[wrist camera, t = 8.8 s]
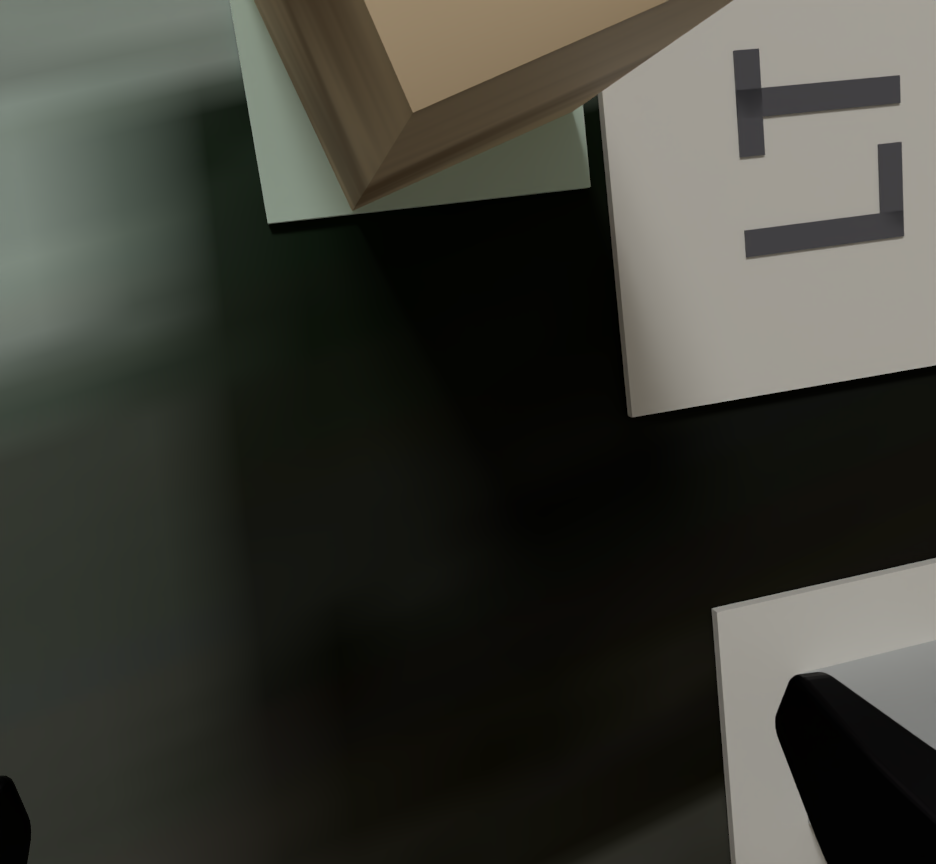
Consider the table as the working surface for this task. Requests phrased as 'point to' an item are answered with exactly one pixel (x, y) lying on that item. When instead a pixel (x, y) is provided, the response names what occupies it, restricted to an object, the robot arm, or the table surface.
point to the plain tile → (767, 675)
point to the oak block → (454, 73)
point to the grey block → (896, 686)
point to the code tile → (775, 201)
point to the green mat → (478, 178)
